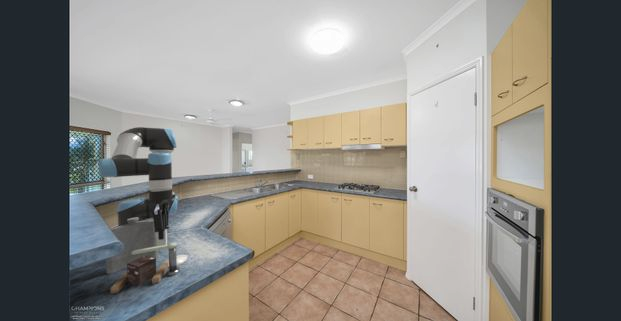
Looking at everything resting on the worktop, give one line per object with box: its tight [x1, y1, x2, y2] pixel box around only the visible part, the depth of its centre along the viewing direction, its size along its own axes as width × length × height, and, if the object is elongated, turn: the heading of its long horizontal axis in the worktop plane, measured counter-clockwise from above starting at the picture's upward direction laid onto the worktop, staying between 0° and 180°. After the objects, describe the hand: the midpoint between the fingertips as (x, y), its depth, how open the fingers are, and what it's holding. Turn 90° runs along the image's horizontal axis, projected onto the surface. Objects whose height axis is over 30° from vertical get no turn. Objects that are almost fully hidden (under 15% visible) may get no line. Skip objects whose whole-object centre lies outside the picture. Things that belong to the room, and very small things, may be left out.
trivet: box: [161, 254, 188, 269], centre depth 79 cm, size 9×9×1 cm
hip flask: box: [105, 217, 159, 275], centre depth 78 cm, size 16×4×20 cm, turn 138°
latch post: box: [165, 247, 181, 277], centre depth 71 cm, size 4×4×10 cm
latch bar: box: [132, 242, 178, 255], centre depth 69 cm, size 3×14×1 cm, turn 114°
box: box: [126, 256, 157, 287], centre depth 68 cm, size 6×6×7 cm
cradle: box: [110, 263, 169, 295], centre depth 68 cm, size 10×13×2 cm
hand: (162, 245), depth 75 cm, fingers closed
